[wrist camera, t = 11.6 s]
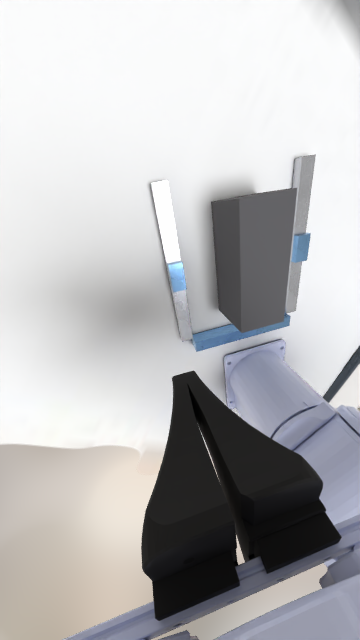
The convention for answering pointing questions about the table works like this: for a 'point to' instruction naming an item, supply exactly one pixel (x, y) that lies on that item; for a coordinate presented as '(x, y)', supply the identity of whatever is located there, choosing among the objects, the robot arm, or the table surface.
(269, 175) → the table surface
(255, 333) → the silver and blue frame
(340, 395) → the phone case
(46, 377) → the table surface
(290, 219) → the dark grey block
